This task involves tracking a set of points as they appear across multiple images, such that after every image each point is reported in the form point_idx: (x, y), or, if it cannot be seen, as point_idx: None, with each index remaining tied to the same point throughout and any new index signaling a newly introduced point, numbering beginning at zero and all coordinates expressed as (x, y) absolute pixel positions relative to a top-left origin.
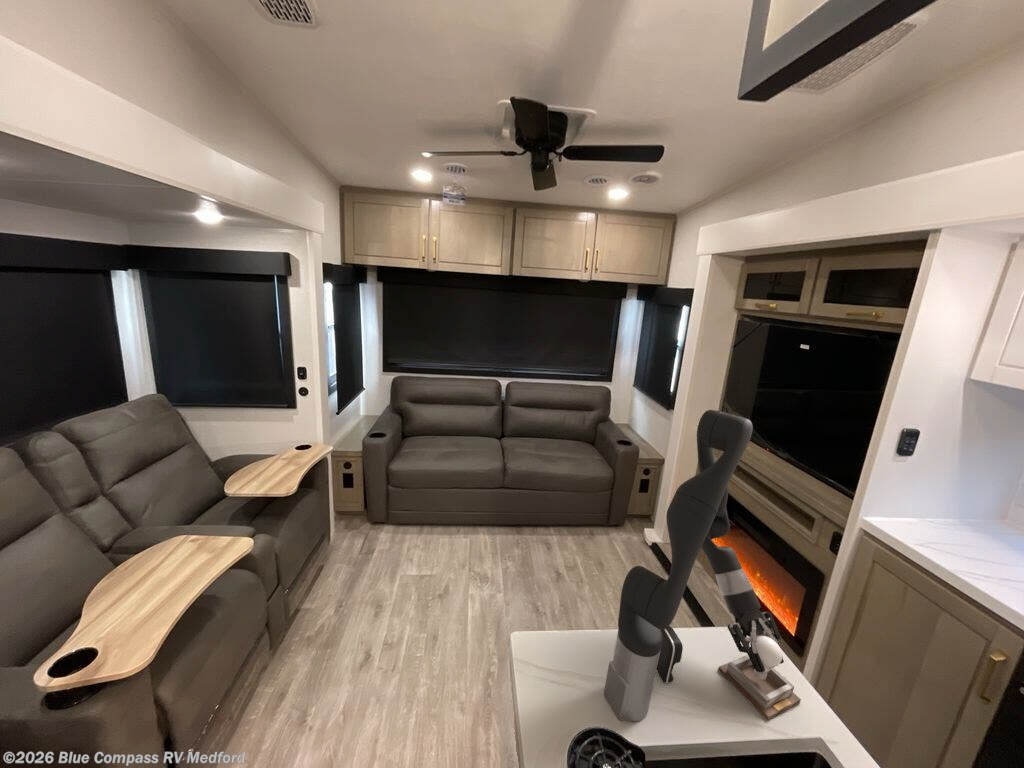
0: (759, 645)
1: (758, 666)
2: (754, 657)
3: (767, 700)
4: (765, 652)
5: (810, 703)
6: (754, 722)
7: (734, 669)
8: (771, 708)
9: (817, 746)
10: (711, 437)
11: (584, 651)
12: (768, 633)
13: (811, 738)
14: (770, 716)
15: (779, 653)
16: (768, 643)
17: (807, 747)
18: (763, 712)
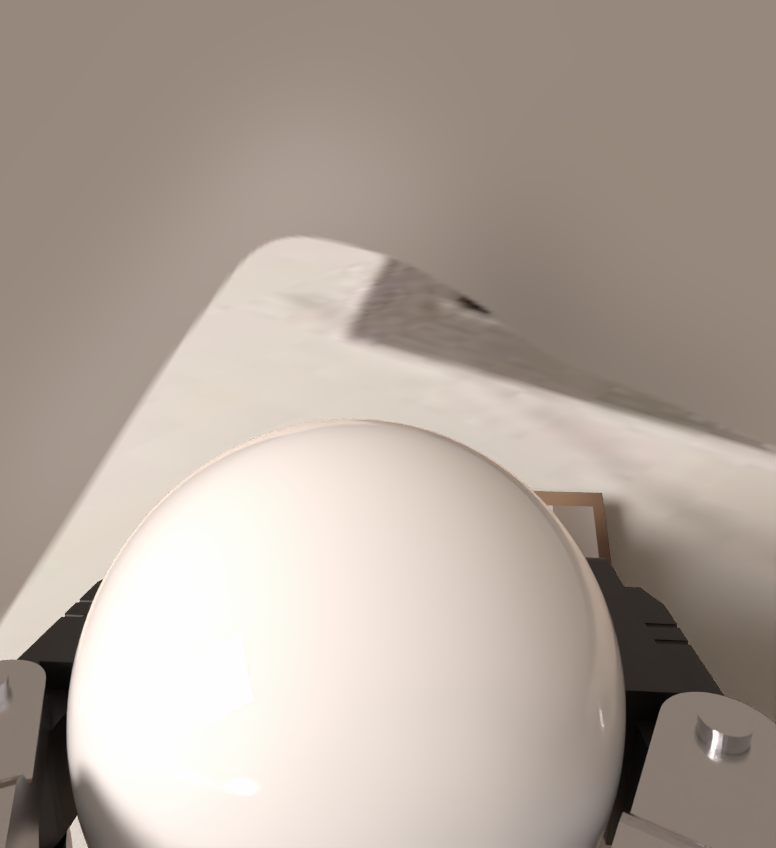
0: (592, 717)
1: (654, 608)
2: (710, 686)
3: (589, 507)
4: (575, 556)
5: (151, 466)
6: (707, 533)
7: None
8: None
9: (424, 317)
10: None
11: None
12: (2, 832)
13: (410, 348)
14: (574, 494)
15: (327, 423)
16: (431, 570)
17: (489, 331)
18: (604, 530)
